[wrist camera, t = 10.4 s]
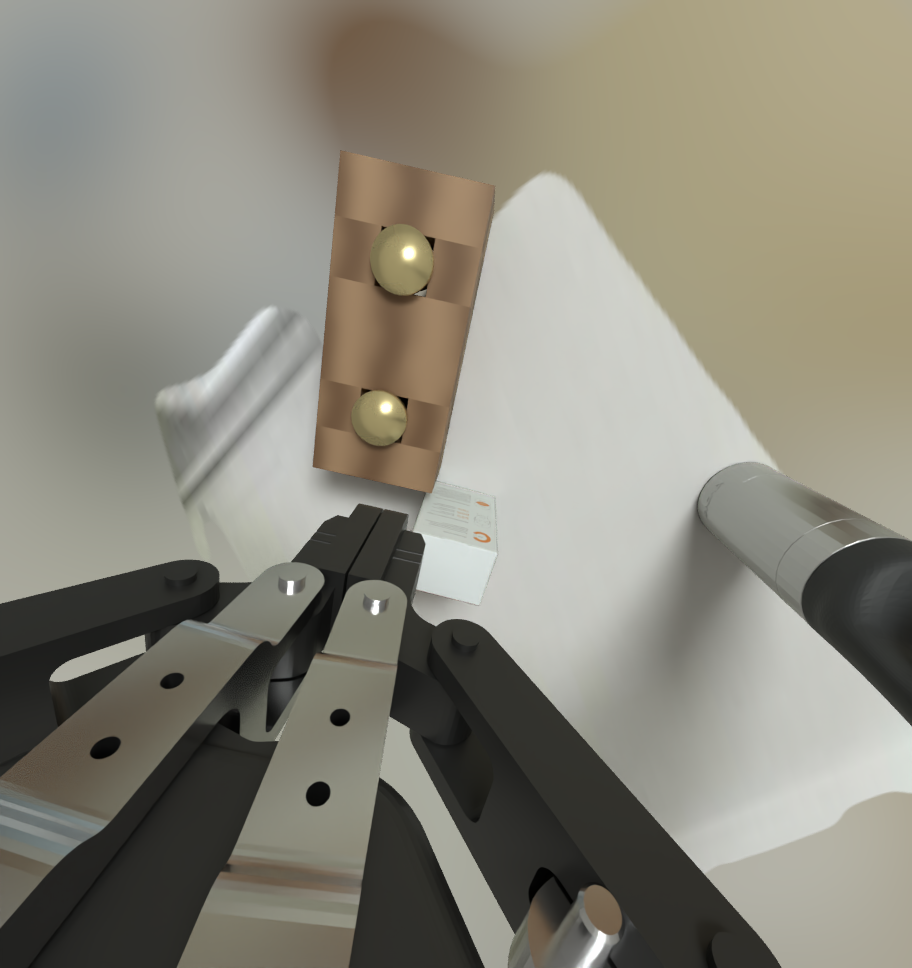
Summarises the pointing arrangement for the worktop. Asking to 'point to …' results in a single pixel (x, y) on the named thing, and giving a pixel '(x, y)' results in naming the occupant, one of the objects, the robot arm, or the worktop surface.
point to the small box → (457, 542)
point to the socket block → (398, 316)
